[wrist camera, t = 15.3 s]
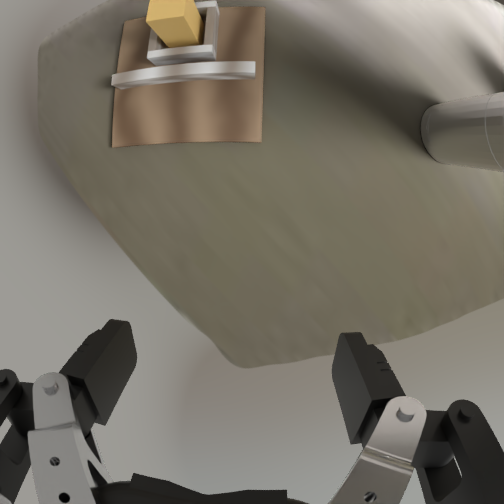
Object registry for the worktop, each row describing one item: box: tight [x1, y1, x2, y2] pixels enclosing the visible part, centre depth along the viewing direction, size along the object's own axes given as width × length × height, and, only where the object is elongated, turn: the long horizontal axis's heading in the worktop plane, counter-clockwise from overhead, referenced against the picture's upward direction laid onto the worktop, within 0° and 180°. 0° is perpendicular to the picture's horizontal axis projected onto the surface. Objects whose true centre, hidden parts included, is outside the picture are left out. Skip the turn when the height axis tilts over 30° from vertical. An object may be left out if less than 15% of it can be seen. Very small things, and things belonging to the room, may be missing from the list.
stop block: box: [146, 0, 204, 48], centre depth 24 cm, size 4×4×10 cm
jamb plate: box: [111, 1, 265, 148], centre depth 29 cm, size 20×20×4 cm
